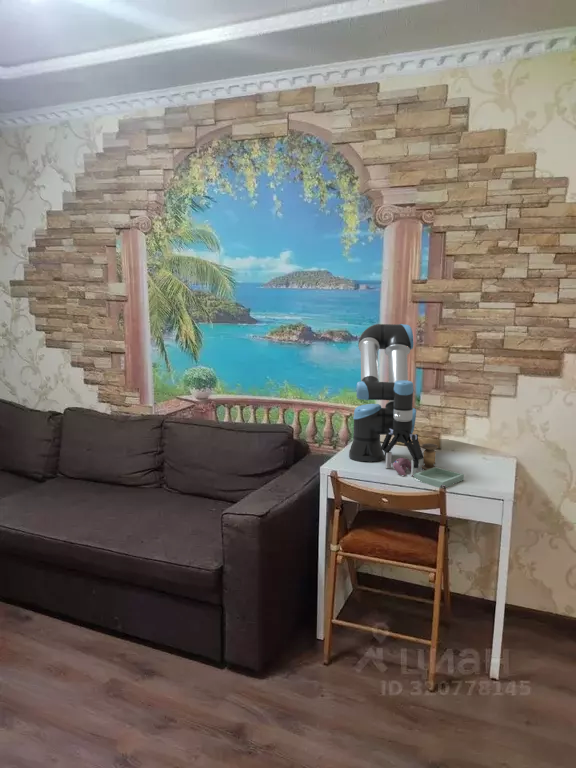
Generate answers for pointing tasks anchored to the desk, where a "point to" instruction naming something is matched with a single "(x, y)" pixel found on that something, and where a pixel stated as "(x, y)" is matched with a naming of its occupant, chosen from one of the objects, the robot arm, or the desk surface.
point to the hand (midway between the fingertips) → (400, 471)
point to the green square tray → (439, 477)
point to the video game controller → (402, 465)
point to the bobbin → (429, 456)
